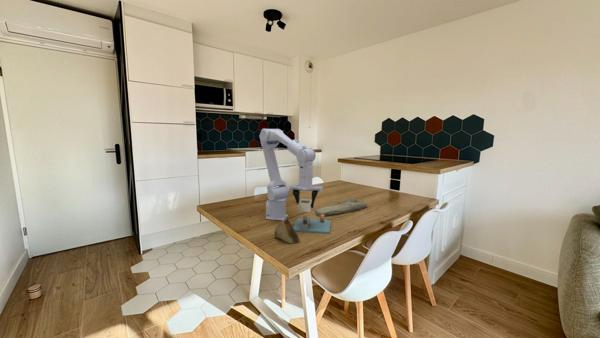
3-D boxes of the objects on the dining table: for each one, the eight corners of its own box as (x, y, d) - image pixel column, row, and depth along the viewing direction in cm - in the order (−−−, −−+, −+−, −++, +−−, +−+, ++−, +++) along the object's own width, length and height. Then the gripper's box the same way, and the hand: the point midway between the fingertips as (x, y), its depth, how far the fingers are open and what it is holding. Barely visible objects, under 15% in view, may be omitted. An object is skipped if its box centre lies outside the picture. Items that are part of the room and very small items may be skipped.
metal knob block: (300, 231, 109) (300, 219, 108) (302, 224, 117) (303, 214, 116) (307, 231, 108) (307, 220, 108) (309, 224, 116) (310, 214, 115)
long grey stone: (310, 215, 133) (322, 222, 125) (310, 206, 132) (322, 212, 124) (358, 203, 152) (371, 208, 144) (358, 194, 151) (371, 199, 142)
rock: (266, 231, 103) (273, 237, 93) (278, 213, 104) (285, 217, 95) (287, 243, 106) (295, 251, 97) (298, 226, 108) (307, 231, 98)
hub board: (292, 231, 109) (292, 229, 109) (297, 219, 122) (297, 218, 122) (329, 233, 106) (329, 231, 106) (330, 222, 120) (331, 220, 120)
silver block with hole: (297, 211, 107) (297, 204, 107) (300, 205, 116) (300, 198, 115) (310, 211, 106) (310, 205, 106) (312, 205, 115) (312, 199, 114)
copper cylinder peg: (319, 222, 117) (319, 215, 117) (320, 220, 119) (320, 213, 119) (324, 222, 117) (324, 215, 116) (324, 221, 119) (324, 214, 118)
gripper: (287, 177, 106) (287, 208, 108) (321, 178, 104) (321, 210, 106) (290, 174, 113) (290, 204, 115) (323, 175, 111) (322, 205, 113)
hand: (305, 206), depth 111 cm, fingers closed on silver block with hole, 6 cm apart
